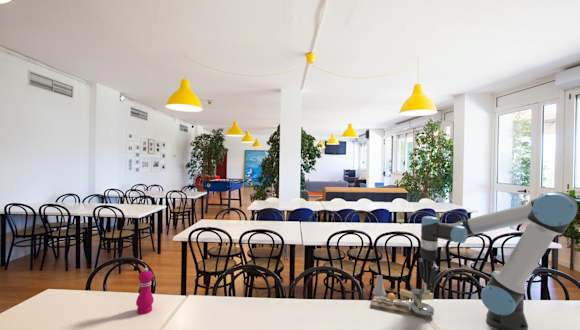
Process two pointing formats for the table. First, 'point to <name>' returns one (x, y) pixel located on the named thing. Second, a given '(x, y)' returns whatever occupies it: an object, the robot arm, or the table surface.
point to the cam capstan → (419, 302)
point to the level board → (393, 306)
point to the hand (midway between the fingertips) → (426, 295)
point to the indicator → (392, 300)
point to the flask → (379, 287)
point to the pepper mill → (145, 292)
